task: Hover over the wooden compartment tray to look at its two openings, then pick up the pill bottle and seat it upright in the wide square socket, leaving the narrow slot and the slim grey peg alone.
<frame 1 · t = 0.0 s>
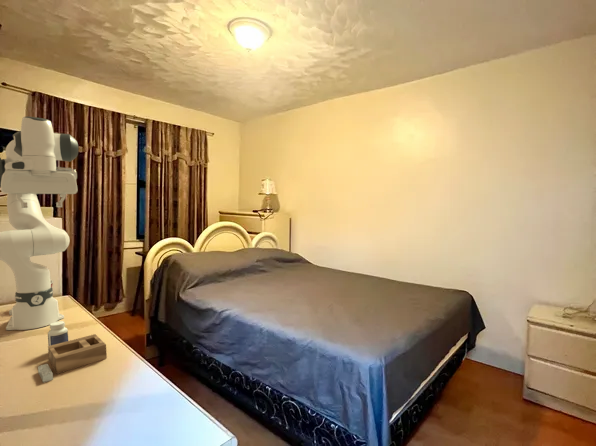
hand: (42, 207, 111), 48 cm above the table, tool pointing down, fingers open, 8 cm apart
plastic cup: (41, 307, 156), on the table
wooden compartment tray: (77, 359, 104), on the table
pill bottle: (59, 352, 110), on the table
slim grey peg: (45, 377, 94), on the table
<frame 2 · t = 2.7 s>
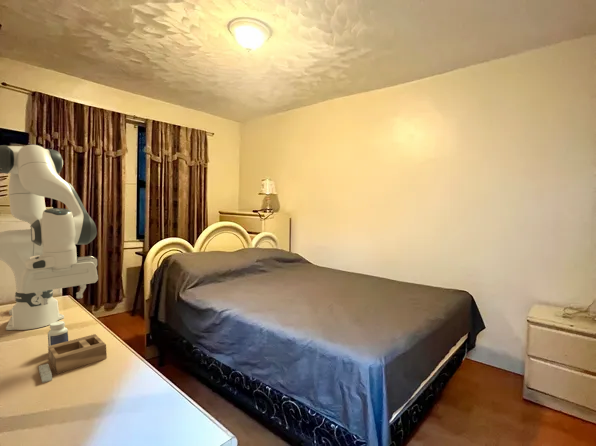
hand: (62, 301, 107), 18 cm above the table, tool pointing down, fingers open, 8 cm apart
nothing on the table moved.
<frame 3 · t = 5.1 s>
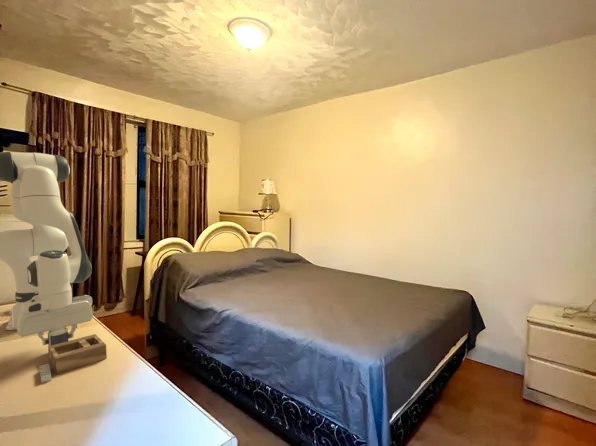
hand: (58, 341, 109), 4 cm above the table, tool pointing down, fingers closed on pill bottle, 5 cm apart
pill bottle: (59, 352, 110), on the table, touching gripper
everything else where it was.
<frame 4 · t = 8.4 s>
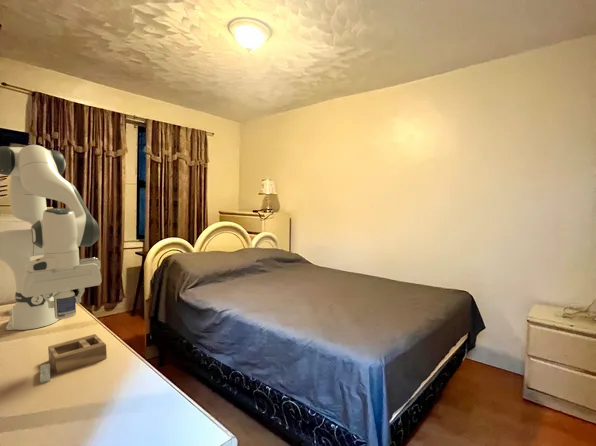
hand: (64, 304, 102), 18 cm above the table, tool pointing down, fingers closed on pill bottle, 5 cm apart
pill bottle: (65, 317, 102), point 14 cm above the table, touching gripper
everything else where it was.
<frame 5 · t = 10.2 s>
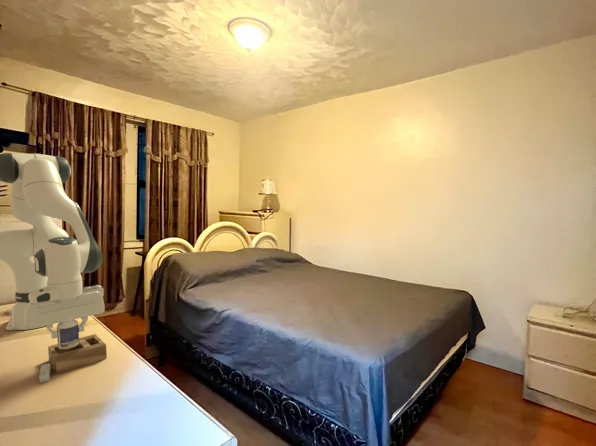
hand: (68, 334, 102), 9 cm above the table, tool pointing down, fingers closed on pill bottle, 5 cm apart
pill bottle: (68, 346, 102), point 5 cm above the table, touching gripper
everything else where it was.
when the fingers open (5 cm above the table, at t = 11.7 s): pill bottle drops 2 cm, resting in wooden compartment tray.
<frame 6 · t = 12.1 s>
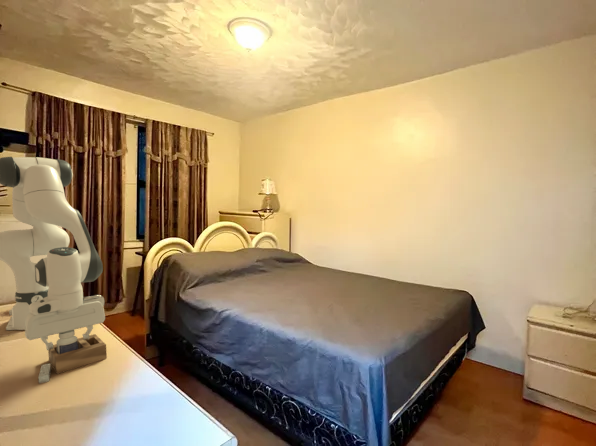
hand: (68, 344, 102), 6 cm above the table, tool pointing down, fingers open, 8 cm apart
pill bottle: (68, 362, 102), resting in wooden compartment tray
everything else where it was.
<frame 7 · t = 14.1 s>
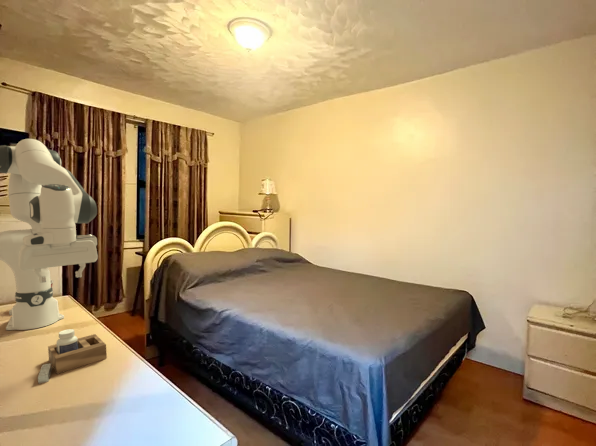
hand: (61, 279, 104), 25 cm above the table, tool pointing down, fingers open, 8 cm apart
nothing on the table moved.
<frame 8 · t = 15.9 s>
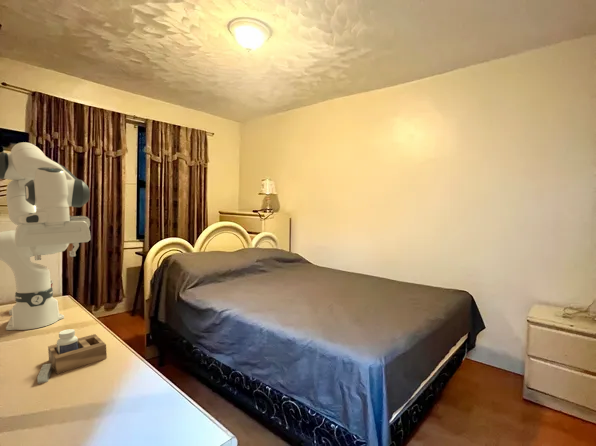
hand: (55, 258, 110), 31 cm above the table, tool pointing down, fingers open, 8 cm apart
nothing on the table moved.
at the end: pill bottle 0.3 cm from the target spot on the wooden compartment tray, point 0.0 cm above the wooden compartment tray's base; pill bottle tilted 1°; the gripper is holding nothing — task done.
